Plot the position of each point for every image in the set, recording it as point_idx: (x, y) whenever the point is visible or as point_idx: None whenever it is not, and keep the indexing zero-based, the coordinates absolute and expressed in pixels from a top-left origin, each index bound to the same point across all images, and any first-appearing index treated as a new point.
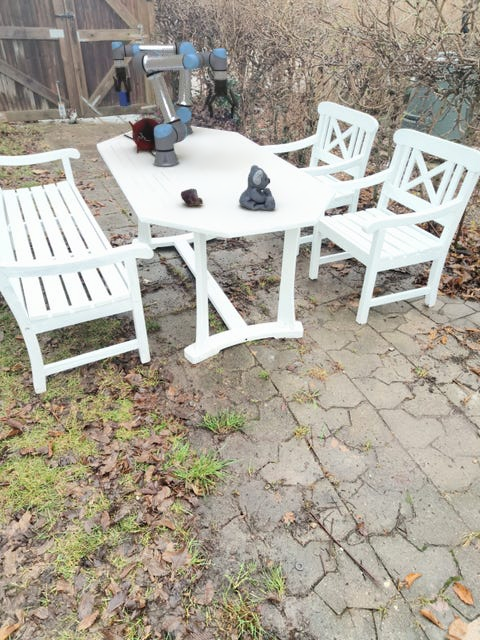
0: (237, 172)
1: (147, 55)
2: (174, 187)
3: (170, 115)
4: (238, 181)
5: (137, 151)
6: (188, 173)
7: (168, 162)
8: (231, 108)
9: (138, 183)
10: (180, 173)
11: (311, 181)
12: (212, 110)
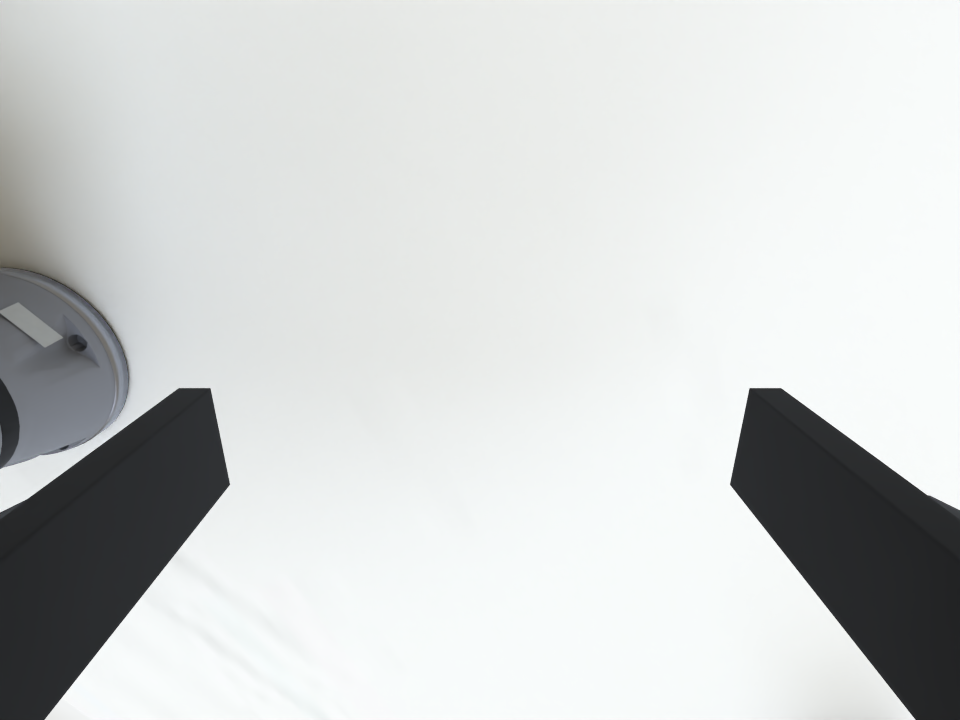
0: (648, 409)
1: None
2: (385, 715)
3: None
4: (693, 565)
5: None
6: (331, 515)
7: (87, 438)
8: (946, 715)
9: (177, 714)
10: (282, 528)
11: None
12: (100, 489)
